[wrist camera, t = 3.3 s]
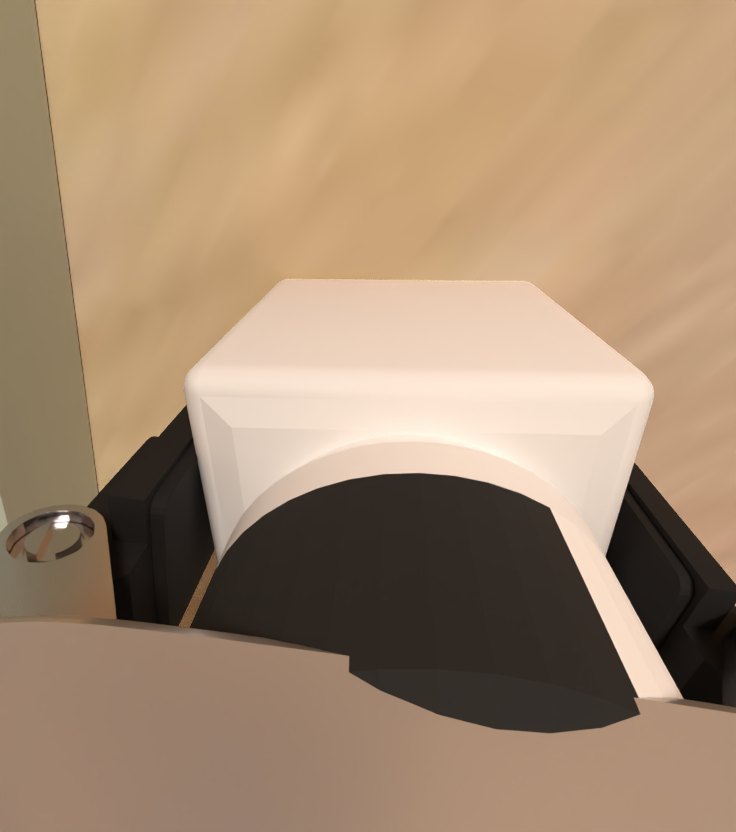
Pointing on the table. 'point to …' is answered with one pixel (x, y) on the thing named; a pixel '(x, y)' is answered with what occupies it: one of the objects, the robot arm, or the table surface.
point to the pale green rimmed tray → (35, 296)
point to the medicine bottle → (429, 495)
